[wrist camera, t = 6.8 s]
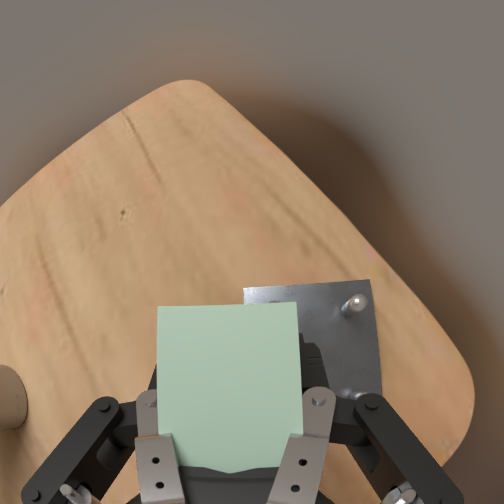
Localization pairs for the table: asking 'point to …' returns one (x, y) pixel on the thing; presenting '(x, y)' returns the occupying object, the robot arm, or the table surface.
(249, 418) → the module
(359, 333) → the plate
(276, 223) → the table surface
